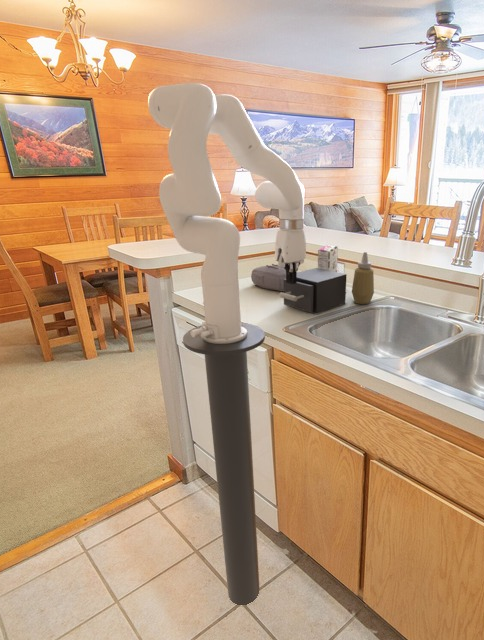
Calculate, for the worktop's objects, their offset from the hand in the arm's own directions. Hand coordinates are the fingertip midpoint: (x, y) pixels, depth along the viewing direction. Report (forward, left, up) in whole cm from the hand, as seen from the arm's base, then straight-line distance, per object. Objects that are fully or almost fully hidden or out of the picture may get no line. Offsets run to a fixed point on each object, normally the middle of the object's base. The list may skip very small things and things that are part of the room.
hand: (291, 283), depth 142 cm
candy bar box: (+31, +10, -11) cm, 34 cm away
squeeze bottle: (+27, -10, -10) cm, 31 cm away
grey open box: (+13, 0, -10) cm, 16 cm away
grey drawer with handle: (+8, 0, -9) cm, 12 cm away
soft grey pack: (+20, +27, -10) cm, 35 cm away
